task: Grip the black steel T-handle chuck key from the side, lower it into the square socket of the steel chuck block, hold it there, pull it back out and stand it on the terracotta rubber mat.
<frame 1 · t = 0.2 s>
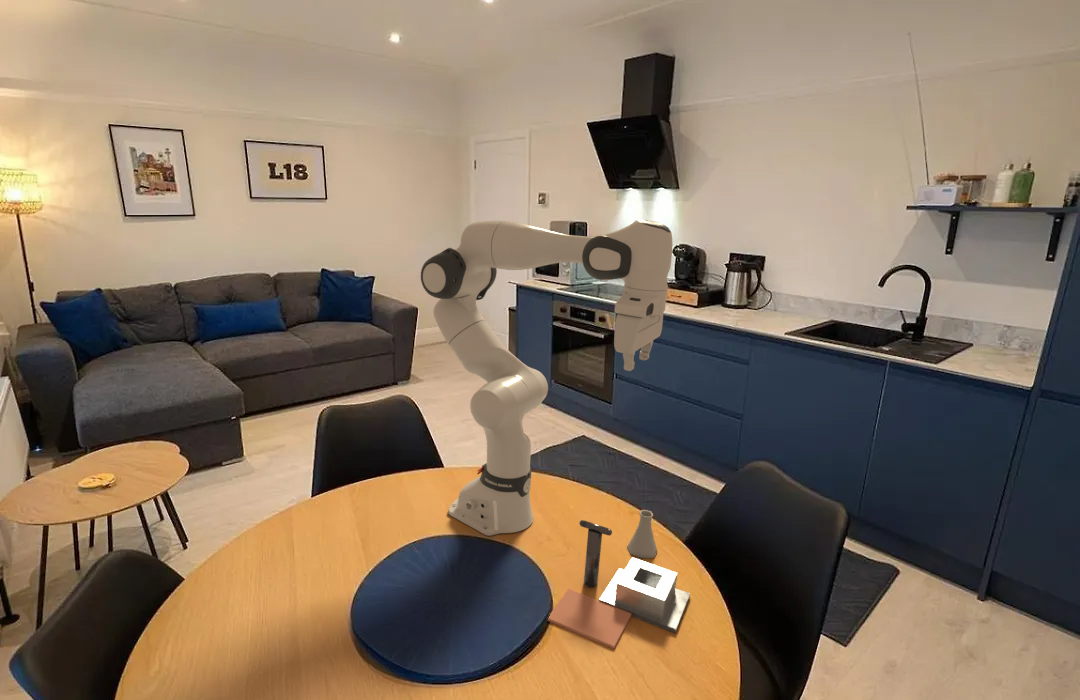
hand: (636, 364, 117), 48 cm above the table, tool pointing down, fingers open, 8 cm apart
flask: (642, 550, 133), on the table
key mat: (589, 618, 109), on the table
chuck block: (644, 600, 115), on the table
chuck key: (590, 583, 120), on the table
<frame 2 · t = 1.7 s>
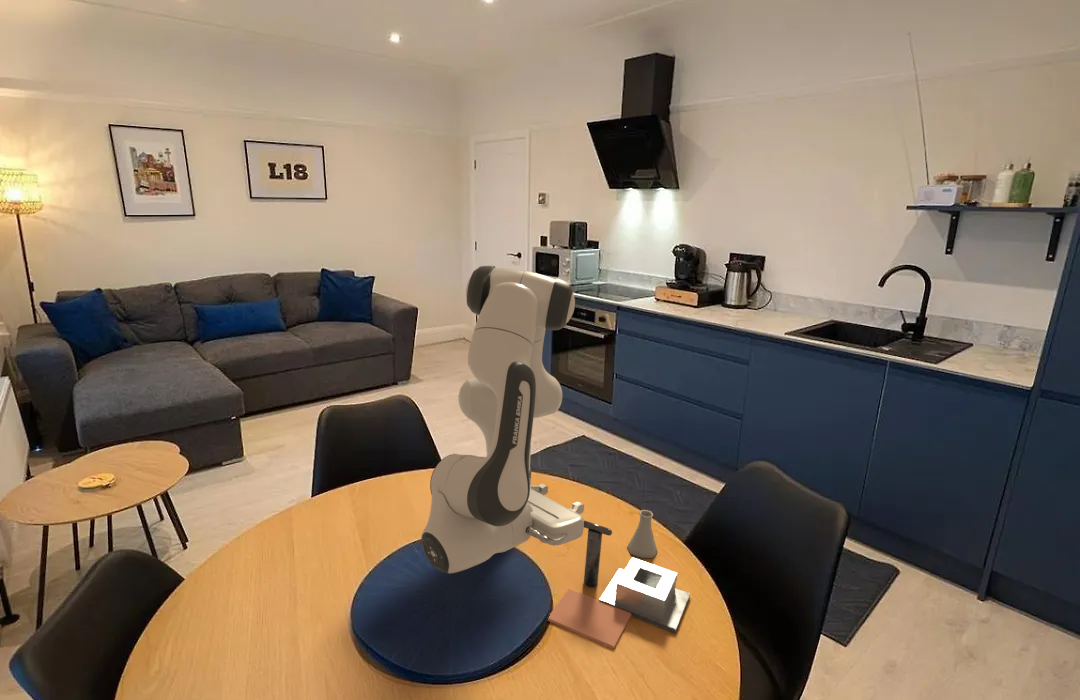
hand: (562, 497, 106), 25 cm above the table, tool horizontal, fingers open, 8 cm apart
nothing on the table moved.
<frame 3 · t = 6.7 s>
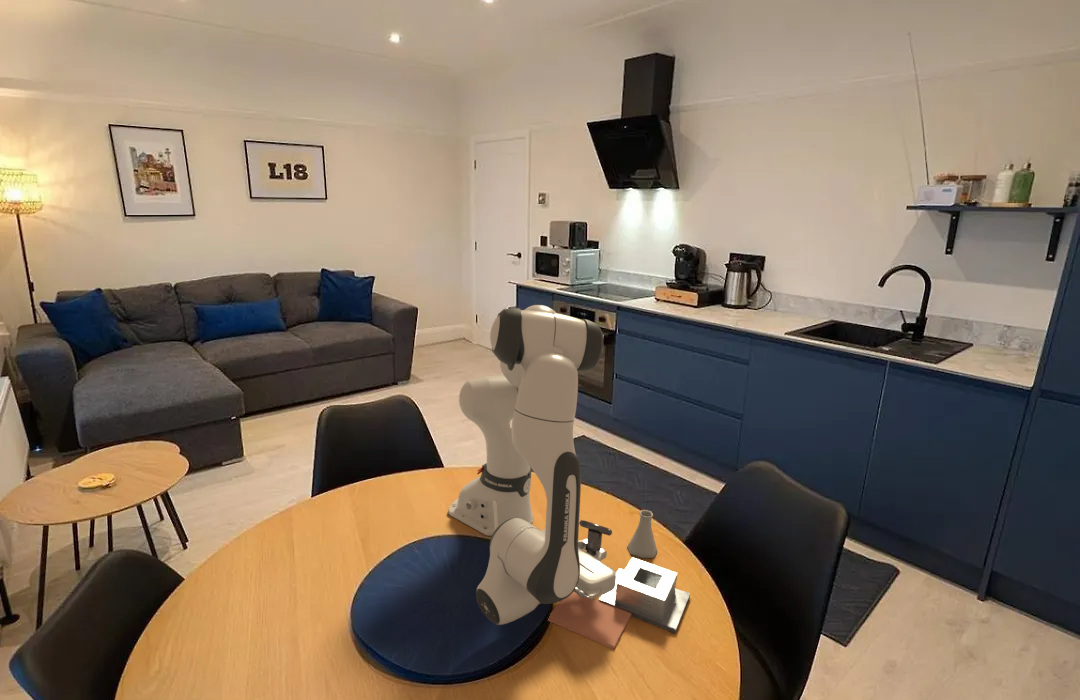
hand: (596, 547, 118), 9 cm above the table, tool horizontal, fingers closed on chuck key, 3 cm apart
chuck key: (590, 583, 120), on the table, touching gripper
everything else where it was.
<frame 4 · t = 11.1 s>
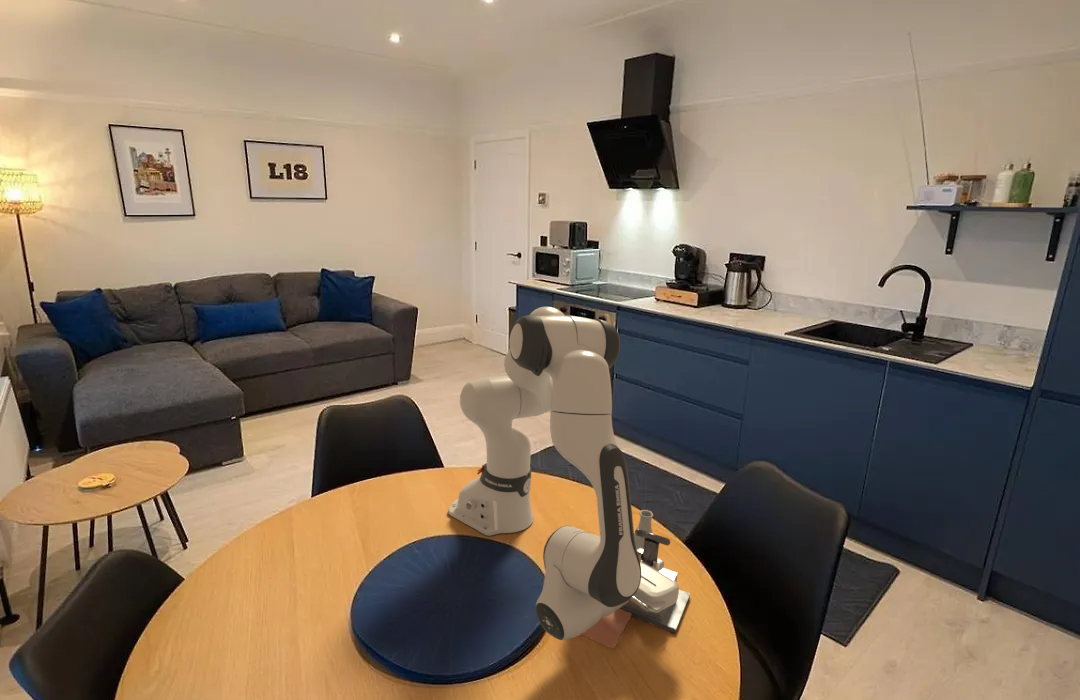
hand: (652, 557, 113), 10 cm above the table, tool horizontal, fingers closed on chuck key, 3 cm apart
chuck key: (645, 594, 115), point 1 cm above the table, touching gripper
everything else where it was.
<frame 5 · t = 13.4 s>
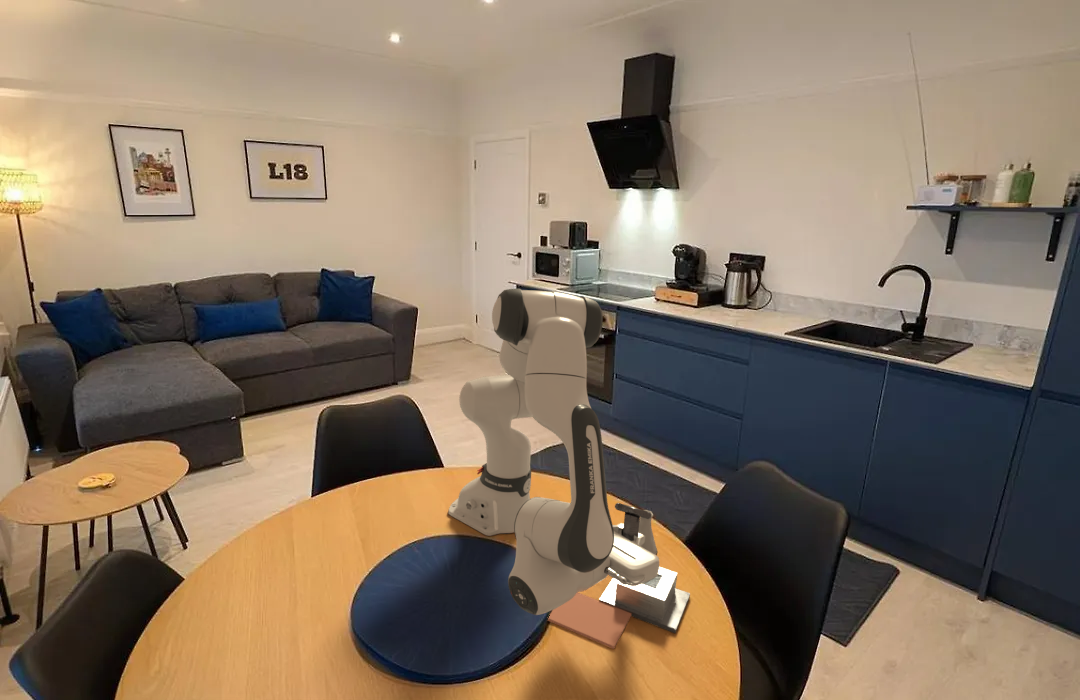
hand: (633, 532, 109), 17 cm above the table, tool horizontal, fingers closed on chuck key, 3 cm apart
chuck key: (626, 571, 111), point 9 cm above the table, touching gripper
everything else where it was.
when the fingers open (11 cm above the table, at t = 15.6 s): chuck key drops 1 cm, resting on key mat.
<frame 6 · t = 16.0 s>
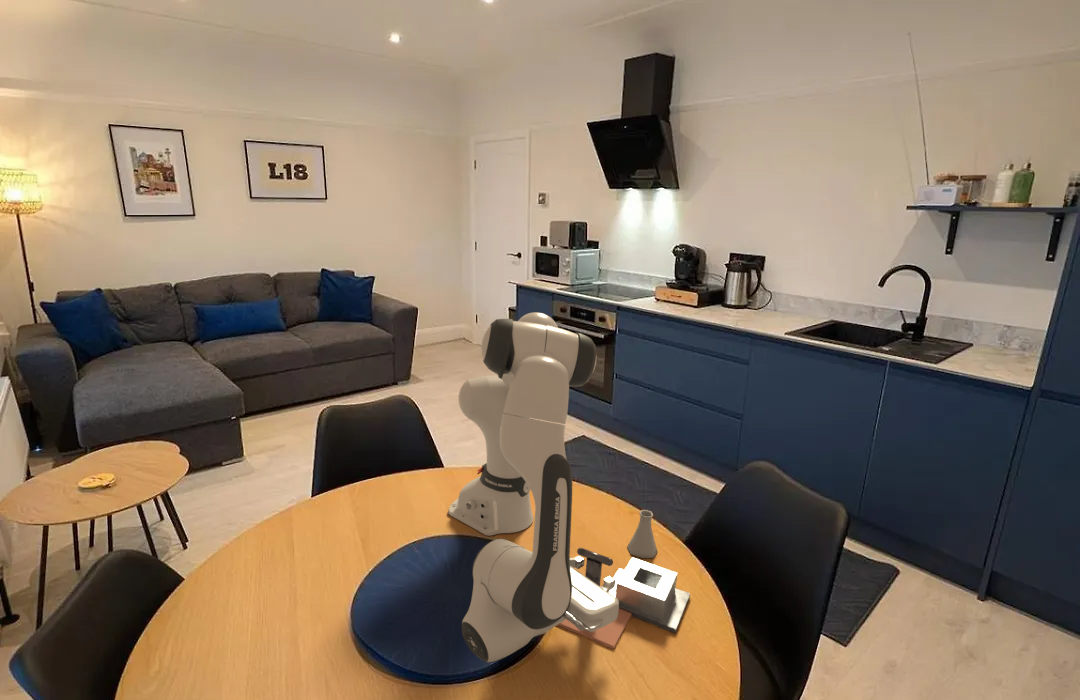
hand: (596, 570, 107), 11 cm above the table, tool horizontal, fingers open, 7 cm apart
chuck key: (589, 615, 109), point 1 cm above the table, touching key mat
everything else where it was.
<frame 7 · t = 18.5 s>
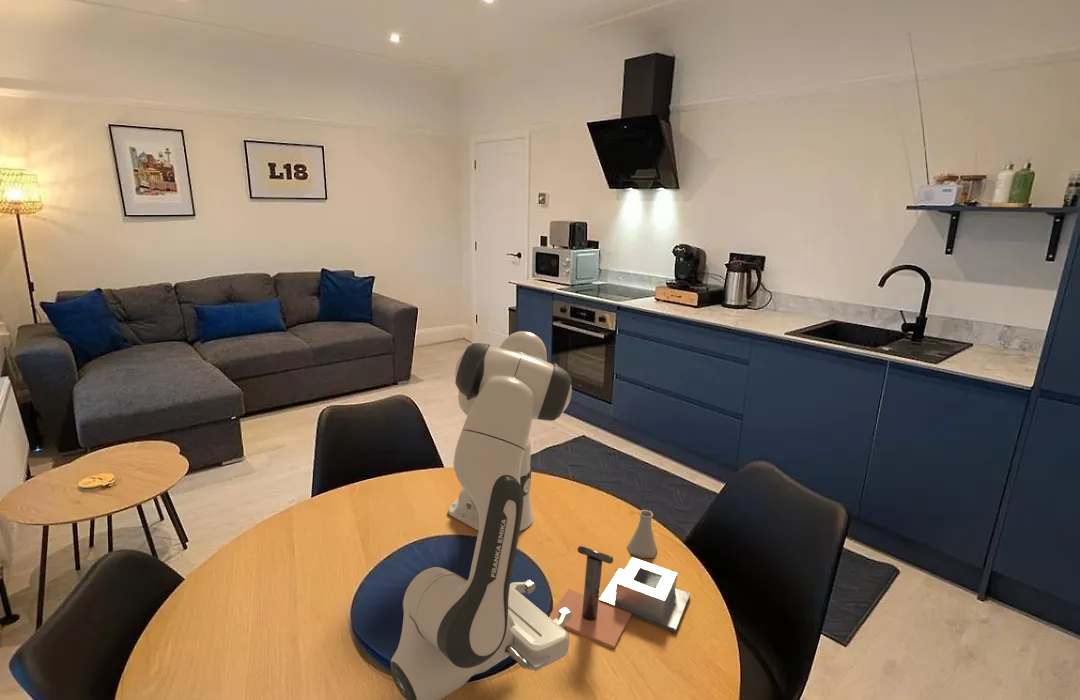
hand: (550, 598, 99), 11 cm above the table, tool horizontal, fingers open, 8 cm apart
nothing on the table moved.
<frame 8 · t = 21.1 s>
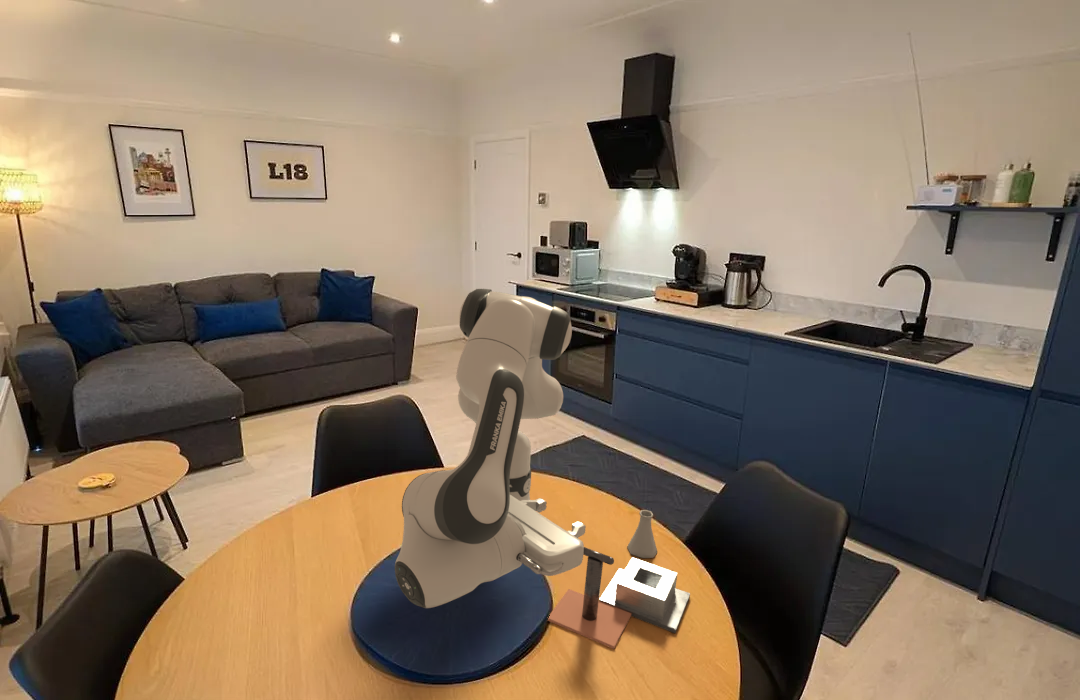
hand: (562, 514, 94), 28 cm above the table, tool horizontal, fingers open, 8 cm apart
nothing on the table moved.
at the end: chuck key inside the target area (0.1 cm from its centre), point 0.6 cm above the table; chuck key tilted 1°; the gripper is holding nothing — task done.
